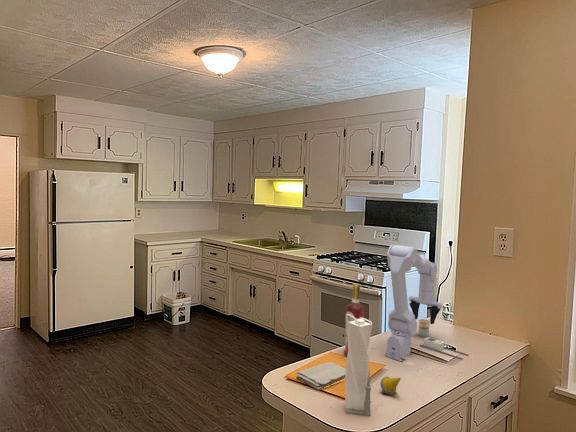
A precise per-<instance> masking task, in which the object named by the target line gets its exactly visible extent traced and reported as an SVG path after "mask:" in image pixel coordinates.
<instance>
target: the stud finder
mask: <svg viewBox="0 0 576 432" xmlns="http://www.w3.org/2000/svg"><path fill="white" fill-rule="evenodd" d="M422 343H423V344H422V345H423V346H426V347H429V348H433V349H436V350H439V351H443V350H445V349H444V347H445V341H443V340H440V339H436V338H433V337H430V336H429V337H424V338H423V341H422Z"/></svg>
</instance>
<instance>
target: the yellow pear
mask: <svg viewBox="0 0 576 432" xmlns="http://www.w3.org/2000/svg"><path fill="white" fill-rule="evenodd" d="M401 380H402V377H389V376H384V377H383V378H382V379H381V380H380V383H379V384H380V387H381V390H382V394H384V393H385V395H389V396H390V395H393V394H395V393H396V391H397V387H398V385H399V383H400V382H401Z"/></svg>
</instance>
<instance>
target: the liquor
mask: <svg viewBox="0 0 576 432" xmlns="http://www.w3.org/2000/svg"><path fill="white" fill-rule="evenodd" d="M360 289H361V285H360V284H359V283H352V298H351V303H349V304H347V305H346V306H345V315H346V314H350V315H352V316H354V317H355V318H356V319H360V317H362V318H365V310H366V309H365V307H364V306H363V305H362V304H360ZM347 317H348V322H351V321H355V319H354V318H352V317H351V316H347ZM344 345H345V348H344V350H343V352H344V354H345V355H346V356H347V355H348V350H349V349H348V331H347V318H346V317H345V343H344Z"/></svg>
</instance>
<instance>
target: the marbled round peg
mask: <svg viewBox="0 0 576 432" xmlns="http://www.w3.org/2000/svg"><path fill="white" fill-rule="evenodd" d="M430 325H431V324H430V319H429V320H428V319H424V318H423V319H419V320H418V333H417V334H418V335H417V336H419V337H421V338H427V337H430Z"/></svg>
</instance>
